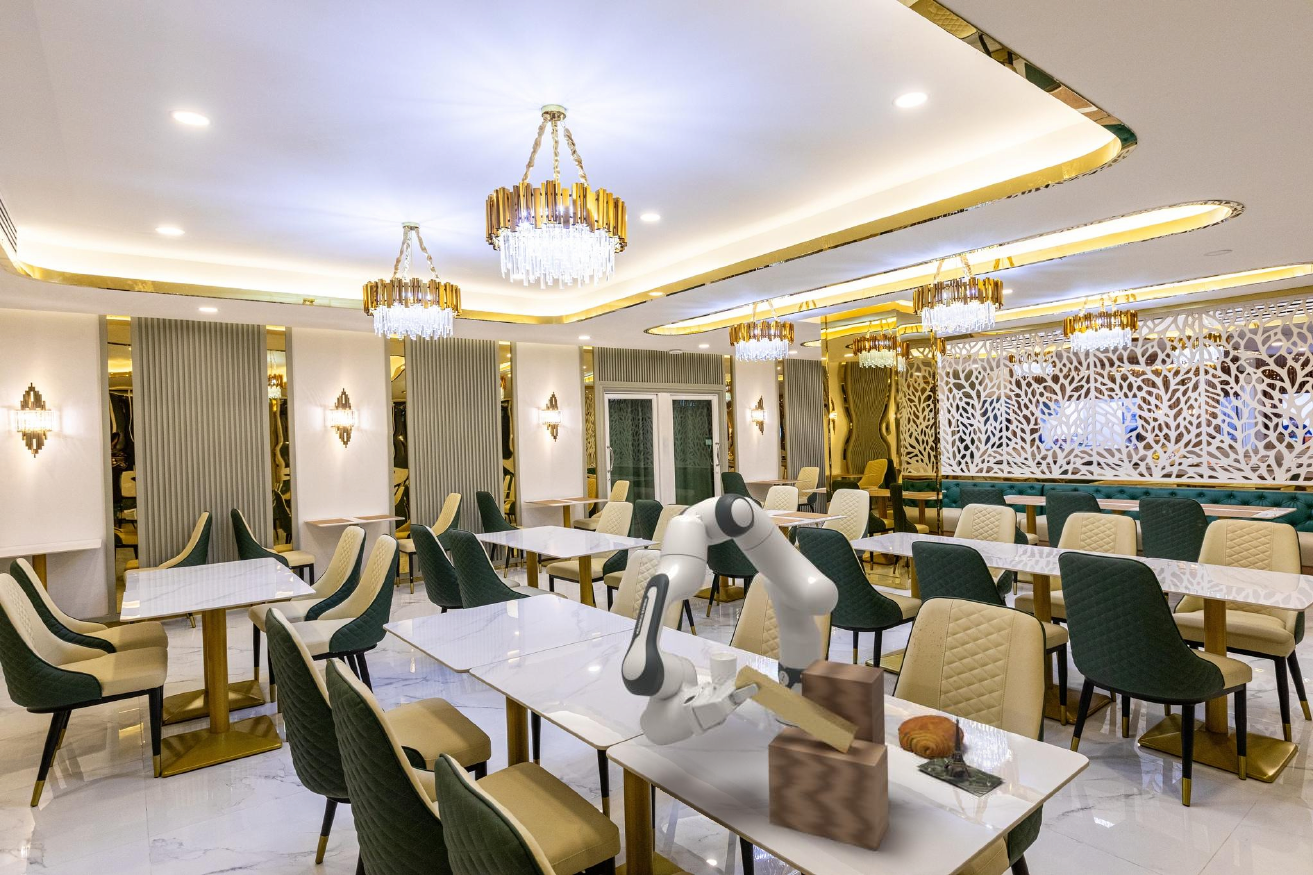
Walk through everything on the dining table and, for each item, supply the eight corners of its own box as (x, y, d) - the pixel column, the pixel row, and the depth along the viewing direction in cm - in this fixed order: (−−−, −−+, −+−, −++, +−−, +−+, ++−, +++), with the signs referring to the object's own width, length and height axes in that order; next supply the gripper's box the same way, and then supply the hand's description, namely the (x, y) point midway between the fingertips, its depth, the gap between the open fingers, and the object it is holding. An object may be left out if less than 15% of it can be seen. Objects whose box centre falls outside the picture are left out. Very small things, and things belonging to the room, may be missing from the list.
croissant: (971, 753, 175) (973, 719, 176) (948, 767, 164) (950, 730, 164) (912, 736, 185) (914, 703, 186) (885, 748, 173) (888, 713, 174)
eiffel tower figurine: (1006, 782, 156) (1005, 719, 156) (979, 796, 150) (979, 731, 150) (942, 757, 168) (941, 698, 168) (915, 769, 162) (914, 708, 162)
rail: (732, 688, 147) (738, 670, 146) (740, 682, 150) (746, 664, 149) (845, 754, 136) (853, 735, 135) (851, 745, 140) (858, 727, 139)
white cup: (736, 695, 211) (735, 660, 211) (708, 693, 212) (708, 658, 212) (738, 686, 218) (738, 652, 218) (712, 684, 220) (711, 651, 220)
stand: (769, 823, 141) (767, 686, 141) (804, 778, 159) (803, 657, 159) (876, 850, 131) (873, 704, 131) (900, 799, 149) (898, 670, 149)
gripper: (734, 702, 160) (787, 680, 154) (692, 739, 142) (751, 716, 136) (721, 674, 162) (773, 652, 155) (678, 708, 144) (735, 684, 138)
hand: (762, 682), depth 146 cm, fingers closed on rail, 4 cm apart
